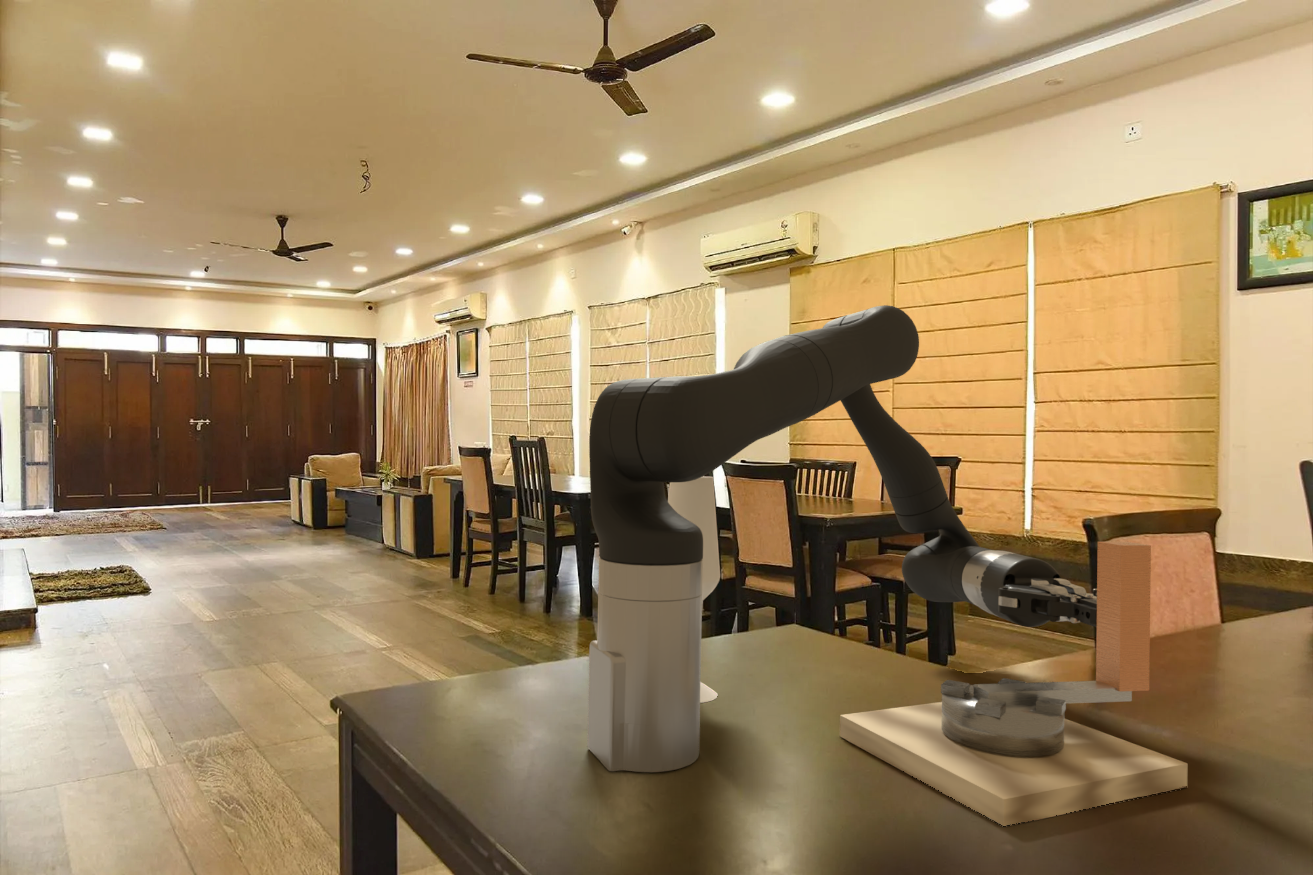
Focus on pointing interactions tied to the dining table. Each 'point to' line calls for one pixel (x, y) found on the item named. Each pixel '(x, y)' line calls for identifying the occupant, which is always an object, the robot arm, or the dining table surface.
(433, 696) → the dining table surface
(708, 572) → the champagne flute
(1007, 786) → the maple base
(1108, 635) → the grey disc with bar
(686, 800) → the dining table surface
